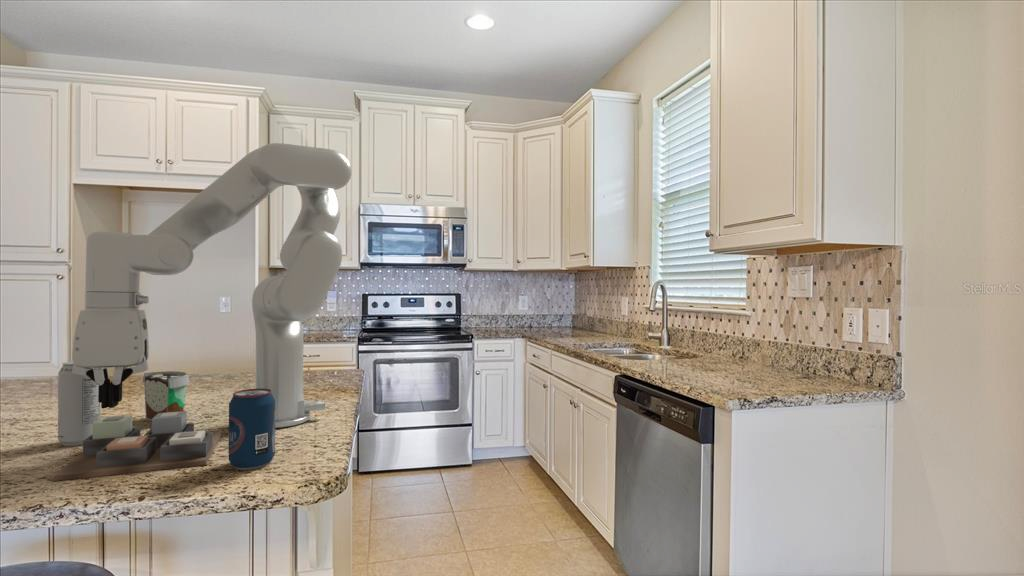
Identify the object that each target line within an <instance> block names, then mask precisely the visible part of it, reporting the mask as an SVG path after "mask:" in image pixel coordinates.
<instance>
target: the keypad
mask: <svg viewBox="0 0 1024 576" xmlns="http://www.w3.org/2000/svg"><path fill="white" fill-rule="evenodd" d="M141 429H142V428H141V426H140V427H132V431H131V432H130V433H129V434H128V435H126V436H125V437H135V436H142V435H141V434H142V432H141ZM193 431H195V423H194V422H189V423H188V422H187V426H186V427H185V429H184V430H183V431H182V432H193ZM175 433H181V432H174V433H162V434H152V427H151V428H150V429H149V430H148V431H147V432H146V433H145V434H144V435H143V436H147V435H148V442H147V443H146V445H145V446H144V447H143V448H132V449H122V450H111V451H106V446H107V445H108V444H110V443H111V442H112V441H113V440H114V439H116V438H123V437H116V438H104V439H92V435H91V436H89V437H88V438H87V439H85V440H84V441H83V445H82V453H81V454H80V455H79V456H77V457H76V458H75V459H73V460H72V461H70V463H68V464H67V465H66V466H64V467H63V468H61V469H60V470H59V471H58V472H57V473H55V474H54V475H53V477H52V482H59V481H68V480H79V479H87V478H98V477H106V476H116V475H123V474H133V473H134V474H136V473H142V472H143V473H144V472H150V471H151V472H153V471H162V470H169V469H177V468H178V469H180V468H188V467H189V468H190V467H198V466H199V467H200V466H206V465H207V464H208V462H209V460H210V458H211V457H212V455H213V452H214V451H215V450H216V447H217V445H218V444H219V442H220V440H221V438H222V436H223V430H215V431H205V439H204V441H203V442H197V443H186V444H175V445H169V440H170V439H171V438H172V437H173V435H174V434H175Z"/></svg>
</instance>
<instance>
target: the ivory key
mask: <svg viewBox="0 0 1024 576" xmlns="http://www.w3.org/2000/svg"><path fill="white" fill-rule="evenodd" d="M205 432H206V430H205V429H204V430H196V431H195V430H194V431H193V432H181V433H175V434H174V435H173V437H172V438H171V439H170V440H169V445H175V444H186V443H197V442H203V441H204V439H205Z"/></svg>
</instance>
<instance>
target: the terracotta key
mask: <svg viewBox="0 0 1024 576" xmlns="http://www.w3.org/2000/svg"><path fill="white" fill-rule="evenodd" d="M147 442H148V435H147V436H144V435H141V436H135V437H123V438H116V439H114V440H113V441H112V442H111V443H110V444H108V445H107V446H106V451H111V450H122V449H132V448H143V447H144V446H145V445H146V443H147Z"/></svg>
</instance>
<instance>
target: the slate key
mask: <svg viewBox="0 0 1024 576" xmlns="http://www.w3.org/2000/svg"><path fill="white" fill-rule="evenodd" d="M187 412H188V411H187V410H184V411H181V412H168V413H158V414H157V415H156V416H155V417H154V418H153V419H152V421H151V428H152V434H162V433H174V432H182V431H183V430H184V429H185V427H186V426H187V424H188V421H187V420H188V418H187V417H188V416H187V415H188V413H187Z"/></svg>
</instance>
